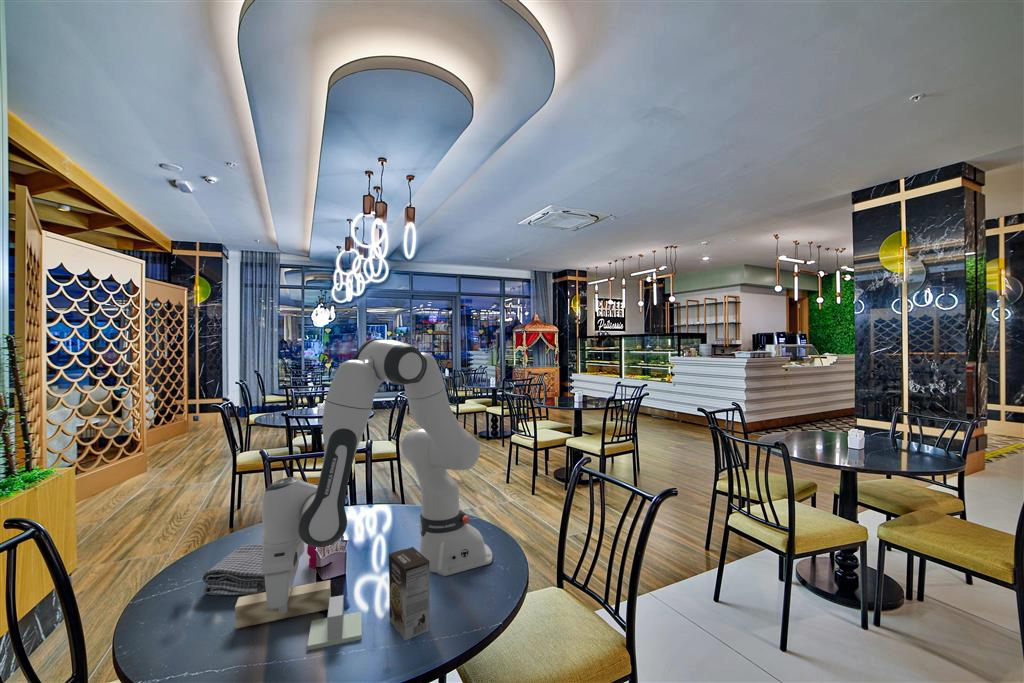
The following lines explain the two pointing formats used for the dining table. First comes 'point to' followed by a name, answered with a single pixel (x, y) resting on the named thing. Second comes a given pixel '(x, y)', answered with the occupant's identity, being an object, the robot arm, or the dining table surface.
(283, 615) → the beech bar
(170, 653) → the dining table surface
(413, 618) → the coffee box
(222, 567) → the towel
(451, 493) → the robot arm
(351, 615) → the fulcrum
